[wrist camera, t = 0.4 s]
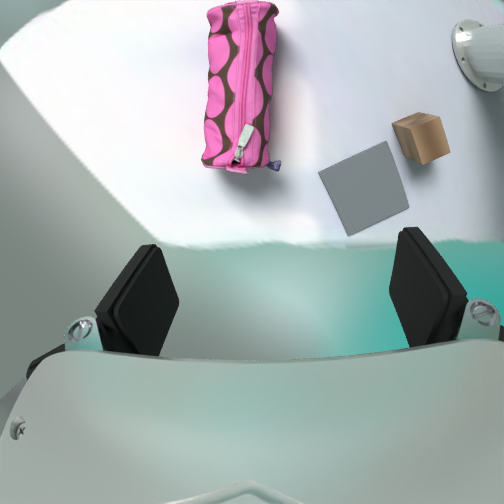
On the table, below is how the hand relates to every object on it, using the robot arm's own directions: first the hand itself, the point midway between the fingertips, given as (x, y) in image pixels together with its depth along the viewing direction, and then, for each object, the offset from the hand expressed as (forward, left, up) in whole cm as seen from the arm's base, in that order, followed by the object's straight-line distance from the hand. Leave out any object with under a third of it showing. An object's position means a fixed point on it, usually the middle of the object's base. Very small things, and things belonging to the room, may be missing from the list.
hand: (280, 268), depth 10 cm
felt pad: (-9, +12, -29) cm, 32 cm away
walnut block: (-19, +7, -29) cm, 35 cm away
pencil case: (-1, -9, -29) cm, 30 cm away
